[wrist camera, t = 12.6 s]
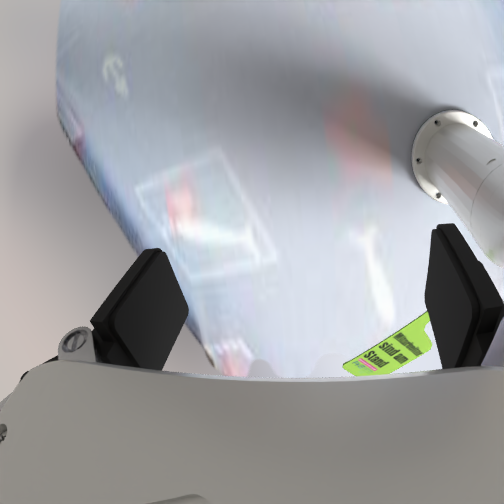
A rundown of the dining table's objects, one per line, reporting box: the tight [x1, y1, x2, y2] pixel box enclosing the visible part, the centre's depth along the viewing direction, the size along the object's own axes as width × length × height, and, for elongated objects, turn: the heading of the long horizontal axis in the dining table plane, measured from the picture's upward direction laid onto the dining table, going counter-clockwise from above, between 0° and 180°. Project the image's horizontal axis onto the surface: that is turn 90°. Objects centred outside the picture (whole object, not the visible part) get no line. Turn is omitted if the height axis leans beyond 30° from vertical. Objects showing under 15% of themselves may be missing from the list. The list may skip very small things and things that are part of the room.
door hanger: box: [343, 311, 432, 376], centre depth 53 cm, size 9×1×25 cm
